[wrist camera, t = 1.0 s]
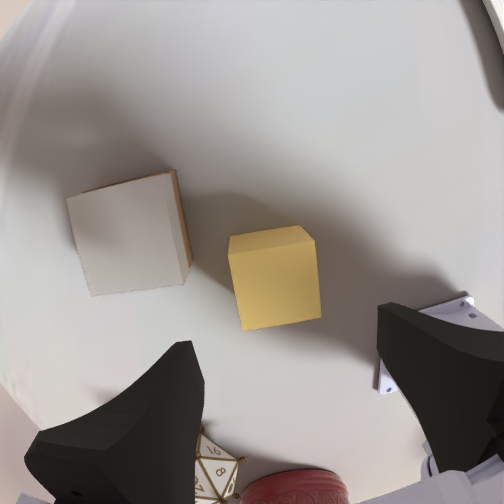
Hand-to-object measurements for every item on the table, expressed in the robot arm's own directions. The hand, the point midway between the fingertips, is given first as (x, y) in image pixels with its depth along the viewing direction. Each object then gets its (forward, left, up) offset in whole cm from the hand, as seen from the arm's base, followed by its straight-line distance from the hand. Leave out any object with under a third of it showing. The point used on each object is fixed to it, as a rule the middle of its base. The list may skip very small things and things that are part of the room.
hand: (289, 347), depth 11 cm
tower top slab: (+8, -4, -8) cm, 12 cm away
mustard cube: (0, 0, -10) cm, 10 cm away
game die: (+9, +17, -10) cm, 21 cm away
